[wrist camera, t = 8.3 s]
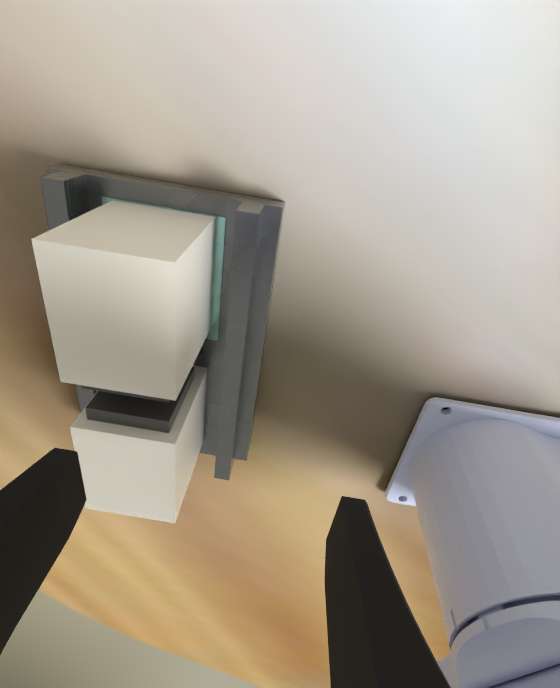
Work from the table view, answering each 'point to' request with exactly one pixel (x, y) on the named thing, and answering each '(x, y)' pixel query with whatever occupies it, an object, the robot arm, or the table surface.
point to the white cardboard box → (128, 297)
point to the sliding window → (227, 289)
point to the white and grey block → (141, 450)
